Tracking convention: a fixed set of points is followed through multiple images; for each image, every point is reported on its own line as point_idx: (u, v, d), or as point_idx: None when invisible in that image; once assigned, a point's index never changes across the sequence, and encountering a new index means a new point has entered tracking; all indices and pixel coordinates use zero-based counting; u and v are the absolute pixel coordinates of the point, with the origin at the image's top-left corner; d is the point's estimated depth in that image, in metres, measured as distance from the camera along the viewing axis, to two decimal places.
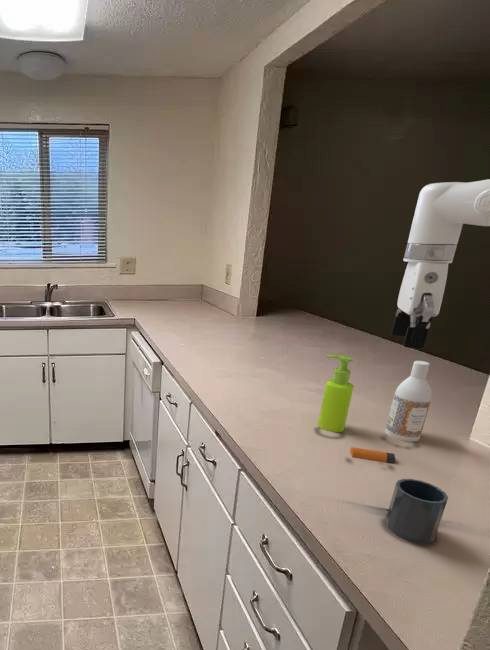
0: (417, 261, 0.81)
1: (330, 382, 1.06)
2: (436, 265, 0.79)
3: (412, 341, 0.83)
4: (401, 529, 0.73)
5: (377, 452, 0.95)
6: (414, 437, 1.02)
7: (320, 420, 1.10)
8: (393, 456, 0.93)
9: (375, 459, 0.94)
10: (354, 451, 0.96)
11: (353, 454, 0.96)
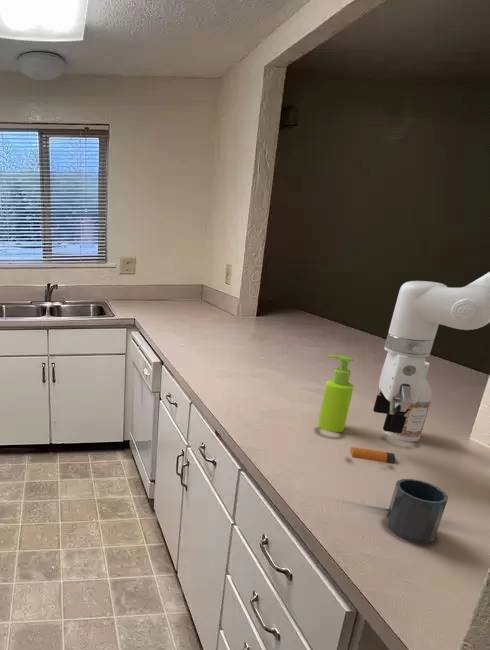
0: (396, 353, 0.85)
1: (330, 382, 1.06)
2: (414, 359, 0.83)
3: (391, 427, 0.87)
4: (401, 529, 0.73)
5: (377, 452, 0.95)
6: (414, 437, 1.02)
7: (320, 420, 1.10)
8: (393, 456, 0.93)
9: (375, 459, 0.94)
10: (354, 451, 0.96)
11: (353, 454, 0.96)
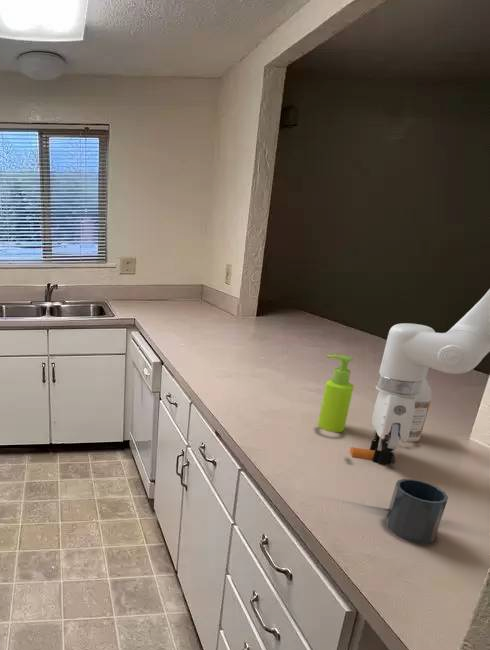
0: (387, 393, 0.88)
1: (330, 382, 1.06)
2: (404, 399, 0.86)
3: (379, 462, 0.93)
4: (401, 529, 0.73)
5: None
6: (414, 437, 1.02)
7: (320, 420, 1.10)
8: (393, 455, 0.93)
9: None
10: (354, 451, 0.96)
11: (353, 454, 0.96)
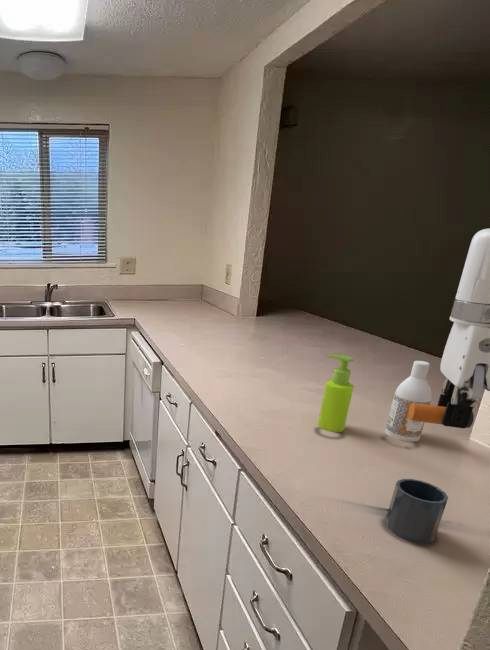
0: (469, 323, 0.65)
1: (330, 382, 1.06)
2: None
3: (453, 420, 0.70)
4: (401, 529, 0.73)
5: None
6: (414, 437, 1.02)
7: (320, 420, 1.10)
8: None
9: None
10: (416, 407, 0.73)
11: (415, 411, 0.73)
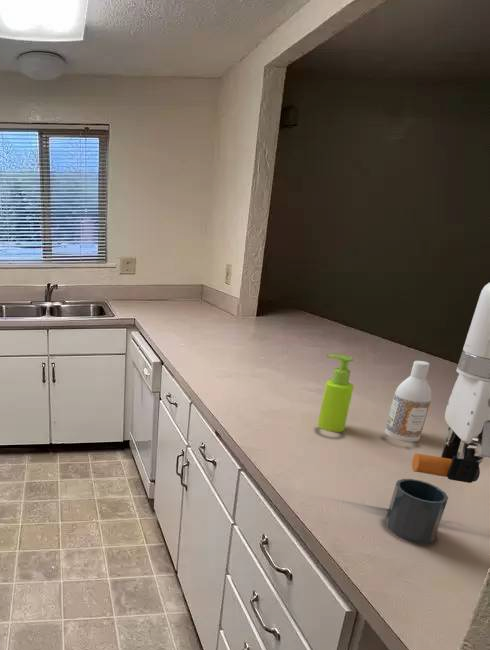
0: (478, 378, 0.62)
1: (330, 382, 1.06)
2: None
3: (459, 475, 0.67)
4: (401, 529, 0.73)
5: None
6: (414, 437, 1.02)
7: (320, 420, 1.10)
8: None
9: None
10: (421, 459, 0.70)
11: (420, 463, 0.70)
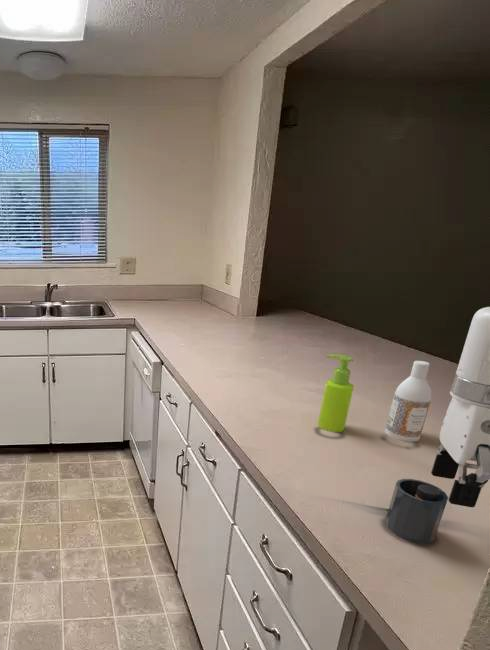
0: (471, 402, 0.64)
1: (330, 382, 1.06)
2: None
3: (461, 499, 0.66)
4: (401, 529, 0.73)
5: None
6: (414, 437, 1.02)
7: (320, 420, 1.10)
8: (420, 491, 0.72)
9: None
10: None
11: None
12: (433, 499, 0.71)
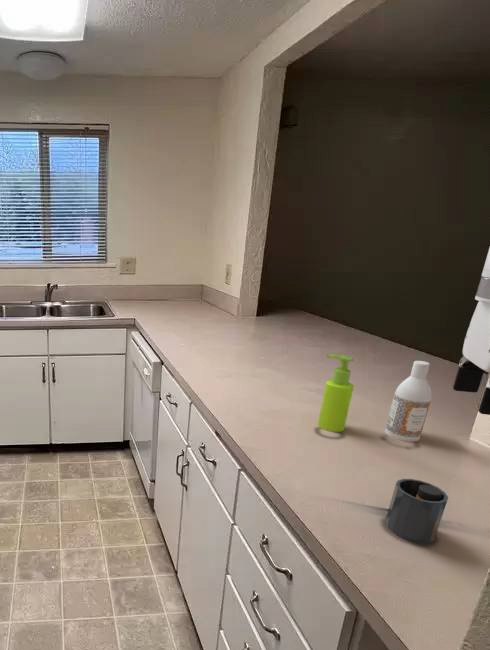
0: None
1: (330, 382, 1.06)
2: None
3: None
4: (401, 529, 0.73)
5: None
6: (414, 437, 1.02)
7: (320, 420, 1.10)
8: (421, 491, 0.72)
9: None
10: None
11: None
12: (434, 499, 0.71)
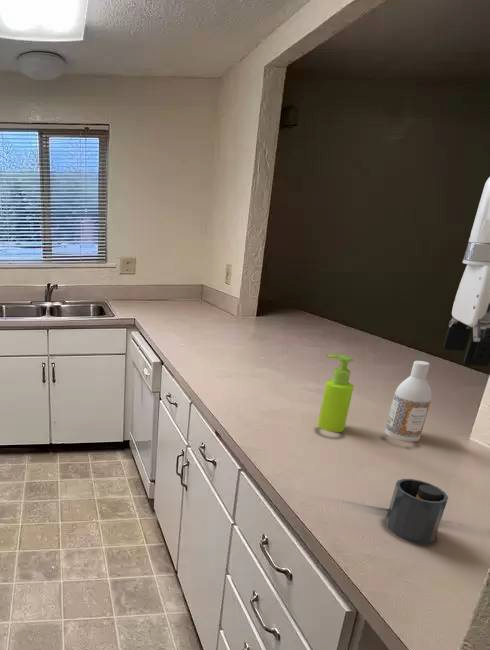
0: (483, 264, 0.68)
1: (330, 382, 1.06)
2: None
3: (475, 358, 0.70)
4: (401, 529, 0.73)
5: None
6: (414, 437, 1.02)
7: (320, 420, 1.10)
8: (421, 491, 0.72)
9: None
10: None
11: None
12: (434, 499, 0.71)
